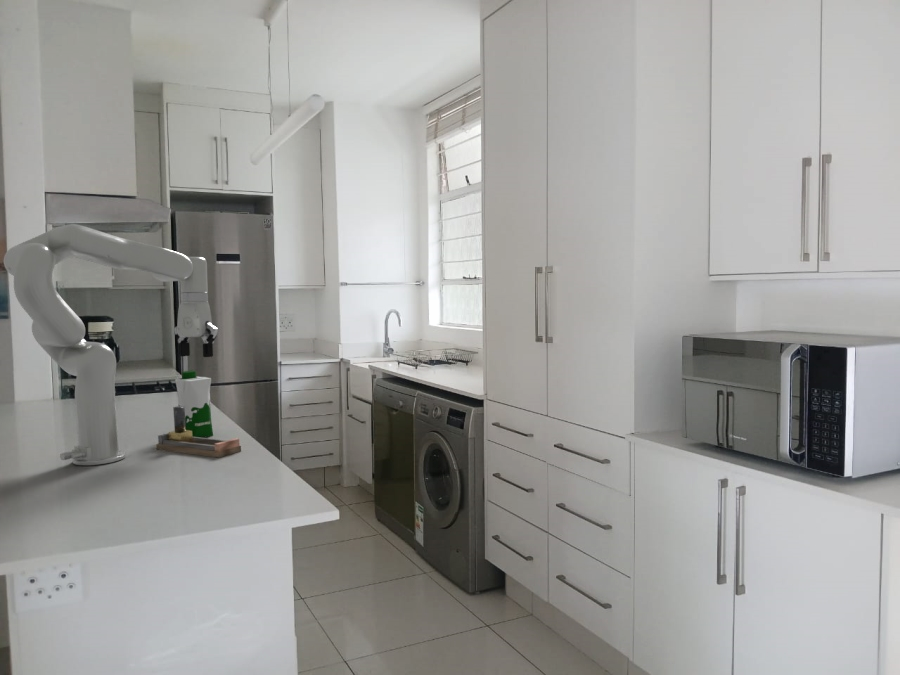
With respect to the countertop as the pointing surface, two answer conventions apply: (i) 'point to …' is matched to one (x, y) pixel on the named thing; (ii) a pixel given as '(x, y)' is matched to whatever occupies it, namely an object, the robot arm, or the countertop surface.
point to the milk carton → (195, 403)
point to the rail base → (199, 446)
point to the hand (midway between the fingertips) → (196, 356)
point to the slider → (180, 426)
